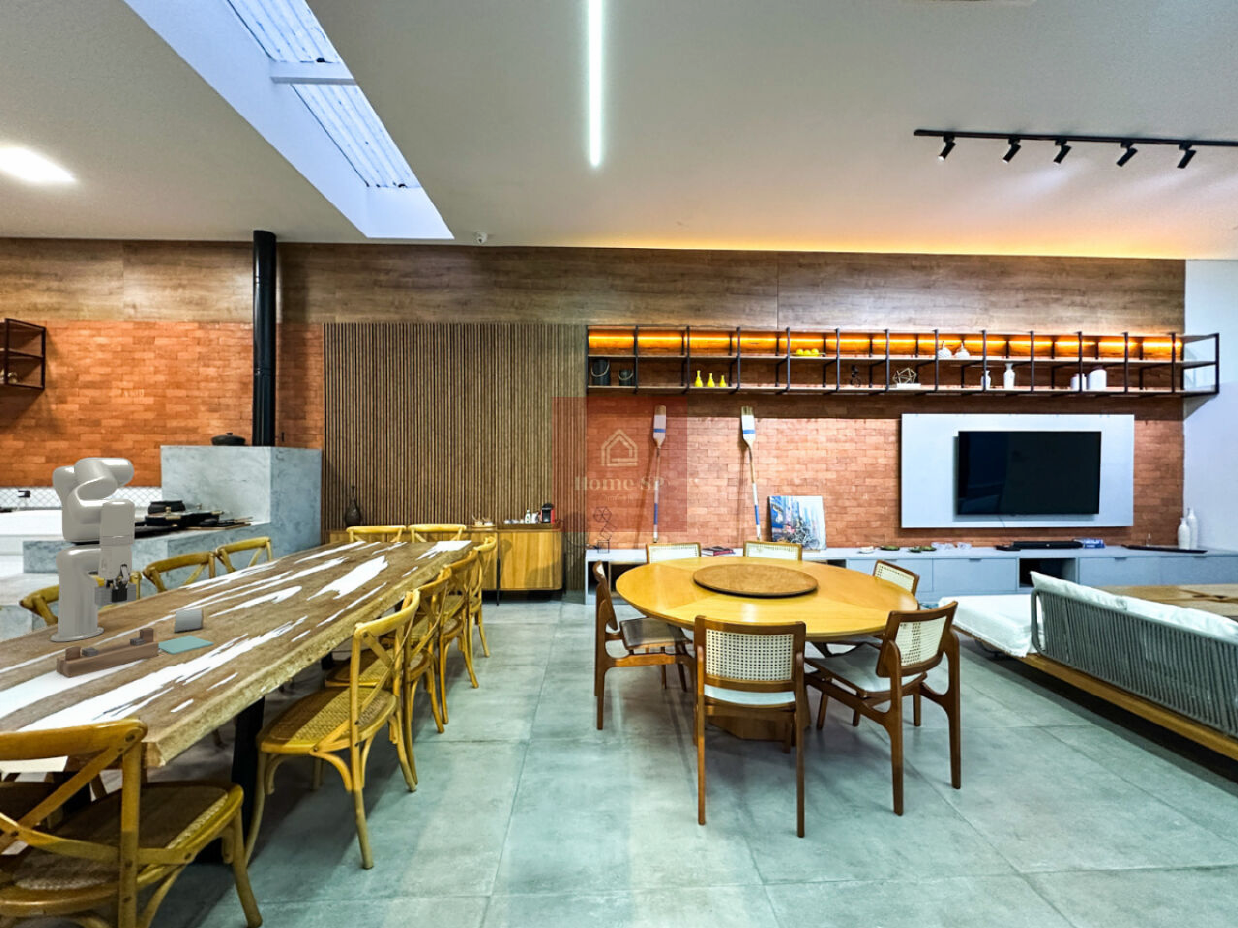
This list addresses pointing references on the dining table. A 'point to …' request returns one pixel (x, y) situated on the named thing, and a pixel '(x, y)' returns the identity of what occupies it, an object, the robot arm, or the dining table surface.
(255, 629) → the dining table surface
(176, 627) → the ceramic mug
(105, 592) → the lever cap
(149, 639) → the plane body
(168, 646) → the mat
